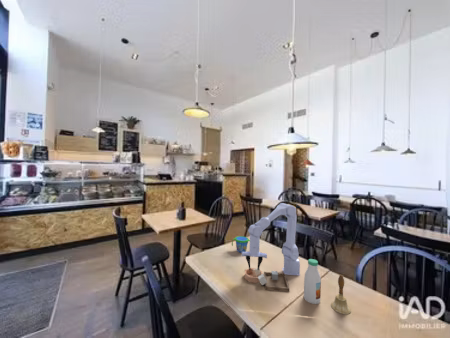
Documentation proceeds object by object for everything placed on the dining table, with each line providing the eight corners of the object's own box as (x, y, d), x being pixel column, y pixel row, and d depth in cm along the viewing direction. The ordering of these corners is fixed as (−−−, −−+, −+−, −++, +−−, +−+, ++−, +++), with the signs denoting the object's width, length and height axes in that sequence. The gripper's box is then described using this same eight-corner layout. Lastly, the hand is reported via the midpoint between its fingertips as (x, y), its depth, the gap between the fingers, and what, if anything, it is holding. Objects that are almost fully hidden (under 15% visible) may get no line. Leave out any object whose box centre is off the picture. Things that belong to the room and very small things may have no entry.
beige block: (261, 274, 120) (258, 274, 123) (259, 268, 121) (256, 268, 124) (256, 276, 118) (253, 276, 121) (254, 269, 120) (251, 269, 123)
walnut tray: (284, 276, 122) (284, 273, 122) (289, 292, 107) (289, 288, 107) (263, 275, 124) (263, 271, 124) (265, 290, 108) (265, 286, 108)
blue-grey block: (277, 277, 121) (277, 271, 121) (277, 280, 117) (278, 274, 117) (271, 276, 121) (271, 270, 121) (271, 279, 118) (272, 274, 118)
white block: (262, 273, 115) (264, 276, 111) (265, 279, 115) (267, 282, 111) (257, 276, 115) (258, 279, 111) (260, 282, 114) (262, 285, 111)
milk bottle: (310, 306, 97) (311, 265, 97) (300, 296, 104) (301, 258, 104) (323, 303, 99) (325, 263, 99) (313, 294, 106) (314, 256, 106)
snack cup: (252, 249, 161) (252, 237, 161) (250, 255, 151) (250, 241, 151) (233, 247, 166) (233, 235, 166) (230, 252, 156) (230, 239, 155)
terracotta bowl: (261, 274, 124) (262, 268, 124) (263, 284, 114) (263, 278, 114) (244, 273, 126) (245, 267, 126) (244, 282, 115) (244, 276, 115)
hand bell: (349, 317, 90) (350, 282, 90) (328, 308, 96) (329, 275, 95) (352, 307, 96) (353, 274, 96) (333, 300, 102) (334, 268, 102)
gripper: (266, 244, 121) (265, 266, 121) (242, 242, 123) (241, 264, 123) (267, 248, 114) (266, 272, 114) (241, 246, 116) (241, 270, 116)
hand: (253, 268), depth 118 cm, fingers open, 4 cm apart
